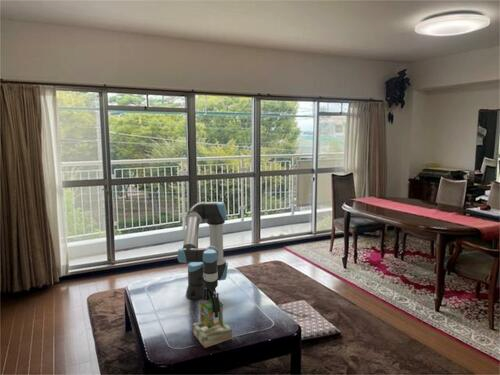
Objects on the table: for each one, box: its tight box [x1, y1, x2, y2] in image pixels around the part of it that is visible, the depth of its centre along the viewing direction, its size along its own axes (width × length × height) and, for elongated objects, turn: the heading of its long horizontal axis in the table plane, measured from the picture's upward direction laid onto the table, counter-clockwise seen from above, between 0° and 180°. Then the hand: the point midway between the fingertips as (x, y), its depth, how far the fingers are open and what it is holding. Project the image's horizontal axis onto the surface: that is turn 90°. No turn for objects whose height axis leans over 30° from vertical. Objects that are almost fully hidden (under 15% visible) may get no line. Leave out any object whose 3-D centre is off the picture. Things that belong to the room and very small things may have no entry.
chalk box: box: [199, 299, 224, 328], centre depth 194 cm, size 9×9×15 cm
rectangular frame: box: [192, 320, 233, 349], centre depth 196 cm, size 16×16×6 cm
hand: (211, 318), depth 195 cm, fingers closed on chalk box, 9 cm apart
